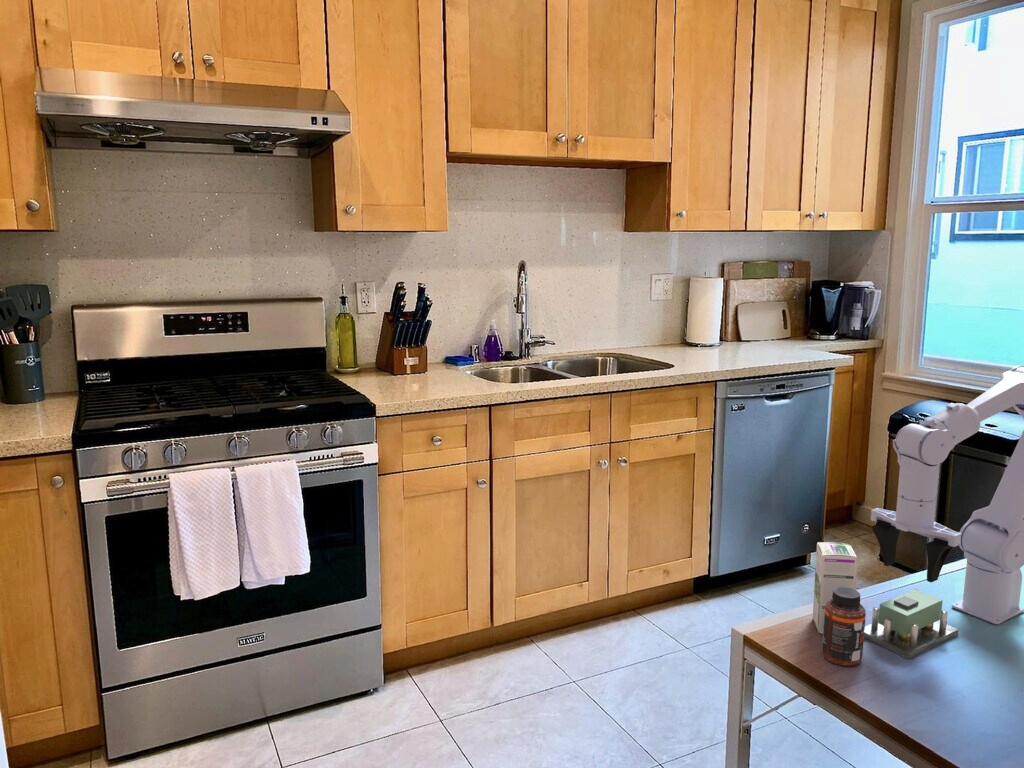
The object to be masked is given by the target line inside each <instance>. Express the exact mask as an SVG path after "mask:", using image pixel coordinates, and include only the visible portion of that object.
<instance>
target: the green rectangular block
mask: <svg viewBox="0 0 1024 768" xmlns="http://www.w3.org/2000/svg"><path fill="white" fill-rule="evenodd" d="M878 608H879V619H878V624H881V625H883V626H884V623H885V619H886V618H888V619H891V620H892V622H891V629H892V630H894V631H896V632H898V633H900V634H903V635H905V636H906V635H908V634H910V633H911V625H912V624H916V625H918V630H919V629H921V628H923V627H925V626H927V625H930V624H932V623H934V622H936V621H940V616H941V611H942V609H943V599H941V598H938V597H936V596H933V595H931V594H929V593H926V592H923V591H921V590H918V589H916V588H915V589H913V590H910V591H907V592H905V593H902V594H900V595H898V596H896V597H893V598H891V599H888V600H886V601H883V602H881V603H879V607H878Z"/></svg>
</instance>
